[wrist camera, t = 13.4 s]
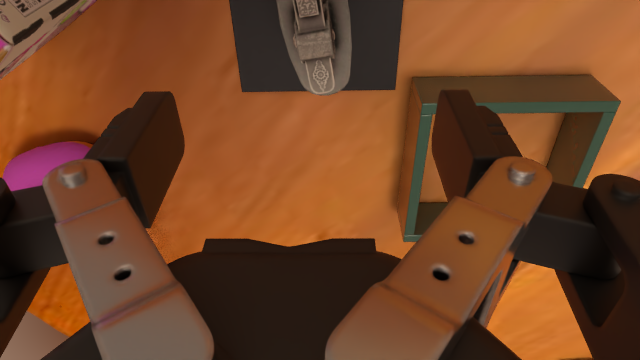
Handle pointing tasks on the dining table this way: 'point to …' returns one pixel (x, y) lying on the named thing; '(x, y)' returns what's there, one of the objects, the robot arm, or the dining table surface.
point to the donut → (41, 163)
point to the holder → (507, 97)
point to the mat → (274, 61)
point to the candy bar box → (32, 26)
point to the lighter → (318, 42)
